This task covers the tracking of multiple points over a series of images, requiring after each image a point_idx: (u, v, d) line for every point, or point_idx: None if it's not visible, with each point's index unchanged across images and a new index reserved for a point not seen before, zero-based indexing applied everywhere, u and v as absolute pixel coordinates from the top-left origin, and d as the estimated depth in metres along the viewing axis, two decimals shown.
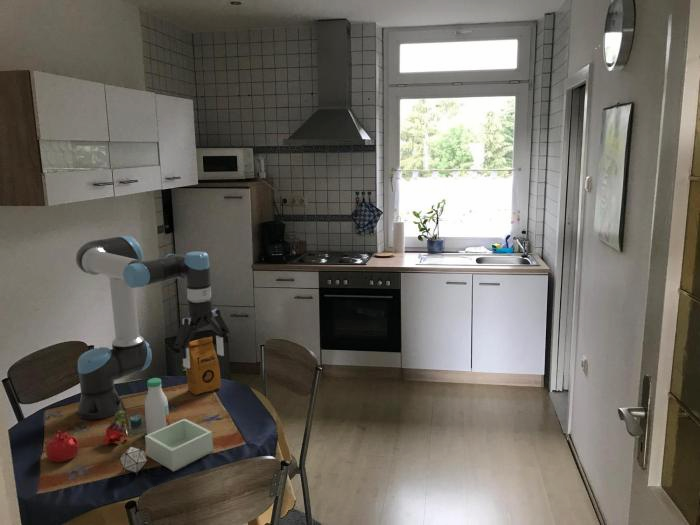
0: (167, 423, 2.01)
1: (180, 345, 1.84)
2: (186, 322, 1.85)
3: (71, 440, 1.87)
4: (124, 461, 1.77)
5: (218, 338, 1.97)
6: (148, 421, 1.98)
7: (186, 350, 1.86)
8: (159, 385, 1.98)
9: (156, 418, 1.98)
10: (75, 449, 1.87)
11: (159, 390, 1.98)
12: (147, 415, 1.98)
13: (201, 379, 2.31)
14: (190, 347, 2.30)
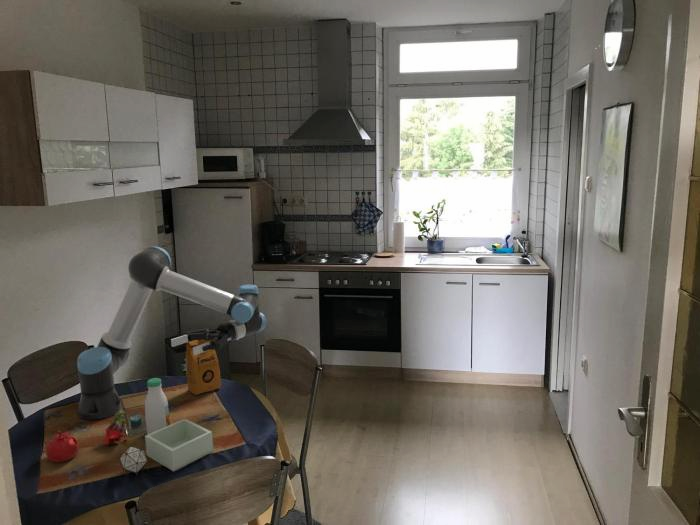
0: (167, 423, 2.01)
1: None
2: None
3: (71, 440, 1.87)
4: (124, 461, 1.77)
5: (186, 338, 2.14)
6: (148, 421, 1.98)
7: None
8: (159, 385, 1.98)
9: (156, 418, 1.98)
10: (75, 449, 1.87)
11: (159, 390, 1.98)
12: (147, 415, 1.98)
13: (201, 379, 2.31)
14: (190, 347, 2.30)
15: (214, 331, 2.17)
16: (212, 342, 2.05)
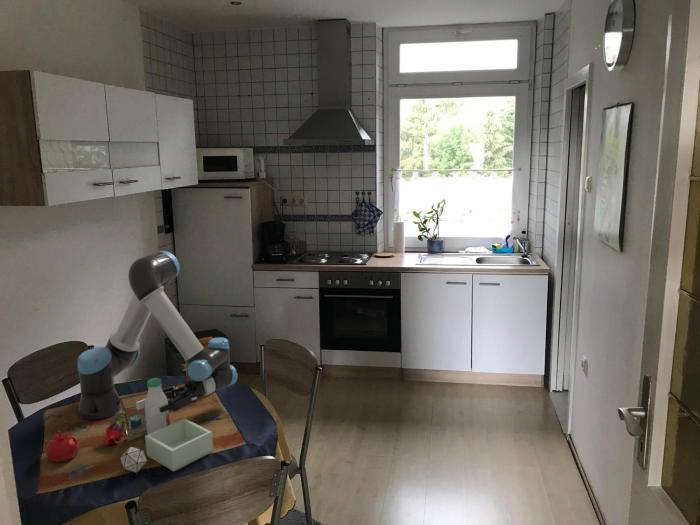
0: (167, 423, 2.01)
1: None
2: None
3: (71, 440, 1.87)
4: (124, 461, 1.77)
5: None
6: (148, 421, 1.98)
7: None
8: (159, 385, 1.98)
9: (156, 418, 1.98)
10: (75, 449, 1.87)
11: (159, 390, 1.98)
12: (147, 415, 1.98)
13: None
14: None
15: (182, 388, 2.09)
16: (169, 402, 1.98)
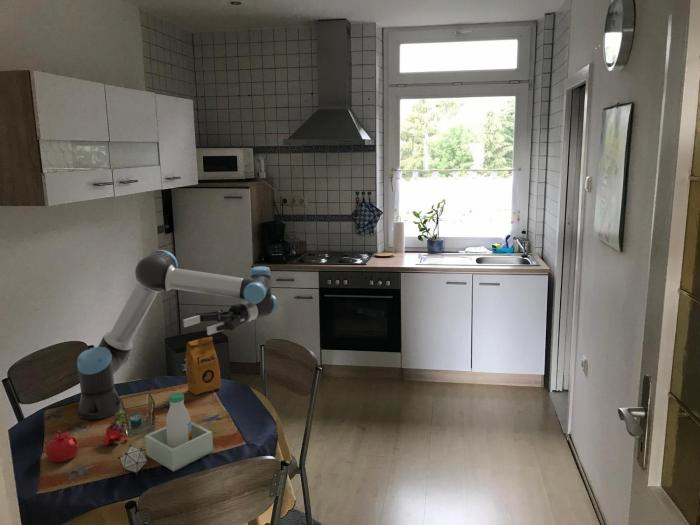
0: None
1: None
2: None
3: (71, 440, 1.87)
4: (124, 461, 1.77)
5: (198, 319, 2.12)
6: (169, 439, 1.85)
7: (222, 329, 2.03)
8: (182, 400, 1.85)
9: (178, 436, 1.84)
10: (75, 449, 1.87)
11: (182, 406, 1.85)
12: (168, 432, 1.85)
13: (201, 379, 2.31)
14: (190, 347, 2.30)
15: (226, 312, 2.14)
16: (226, 322, 2.03)
